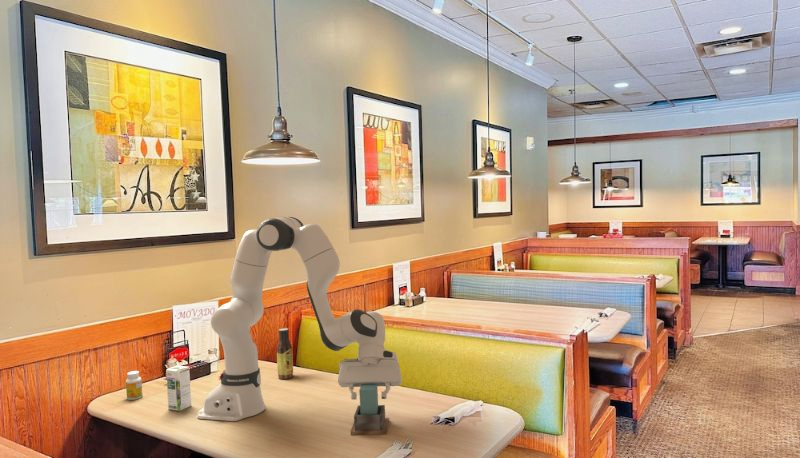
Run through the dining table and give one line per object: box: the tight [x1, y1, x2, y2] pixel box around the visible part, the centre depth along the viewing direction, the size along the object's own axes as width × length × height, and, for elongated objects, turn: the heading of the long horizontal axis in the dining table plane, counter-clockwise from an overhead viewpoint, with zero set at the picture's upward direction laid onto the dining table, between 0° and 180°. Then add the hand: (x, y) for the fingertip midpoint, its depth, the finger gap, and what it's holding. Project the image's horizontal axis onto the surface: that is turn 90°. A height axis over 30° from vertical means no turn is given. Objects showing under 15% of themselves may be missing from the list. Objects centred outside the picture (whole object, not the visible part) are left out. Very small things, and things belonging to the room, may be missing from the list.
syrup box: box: [165, 365, 192, 412], centre depth 196 cm, size 6×6×14 cm
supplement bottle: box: [125, 370, 144, 401], centre depth 208 cm, size 5×5×10 cm
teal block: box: [358, 384, 379, 415], centre depth 171 cm, size 5×5×12 cm
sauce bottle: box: [276, 327, 294, 380], centre depth 224 cm, size 6×6×20 cm
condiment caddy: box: [350, 404, 390, 436], centre depth 171 cm, size 11×10×6 cm
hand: (368, 398), depth 170 cm, fingers open, 8 cm apart
